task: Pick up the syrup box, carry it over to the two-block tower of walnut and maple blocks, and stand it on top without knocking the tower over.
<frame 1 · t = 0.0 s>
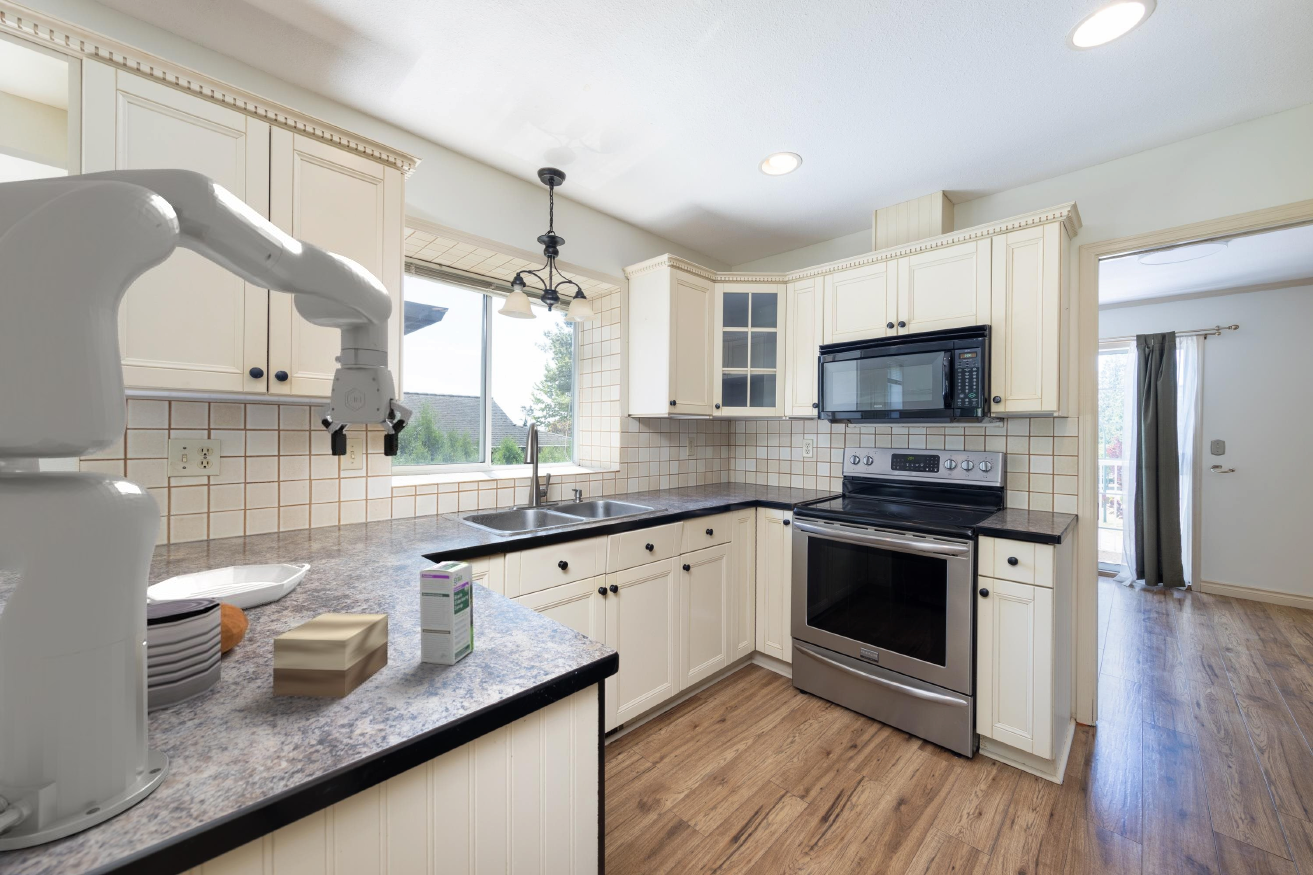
hand: (364, 455, 94), 31 cm above the counter, tool pointing down, fingers open, 9 cm apart
potato: (212, 654, 82), on the counter
tower top block: (334, 653, 74), point 4 cm above the counter, touching tower base block
syrup box: (447, 657, 81), on the counter
can: (167, 693, 70), on the counter
tower base block: (334, 680, 74), on the counter, touching tower top block
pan: (228, 600, 109), on the counter
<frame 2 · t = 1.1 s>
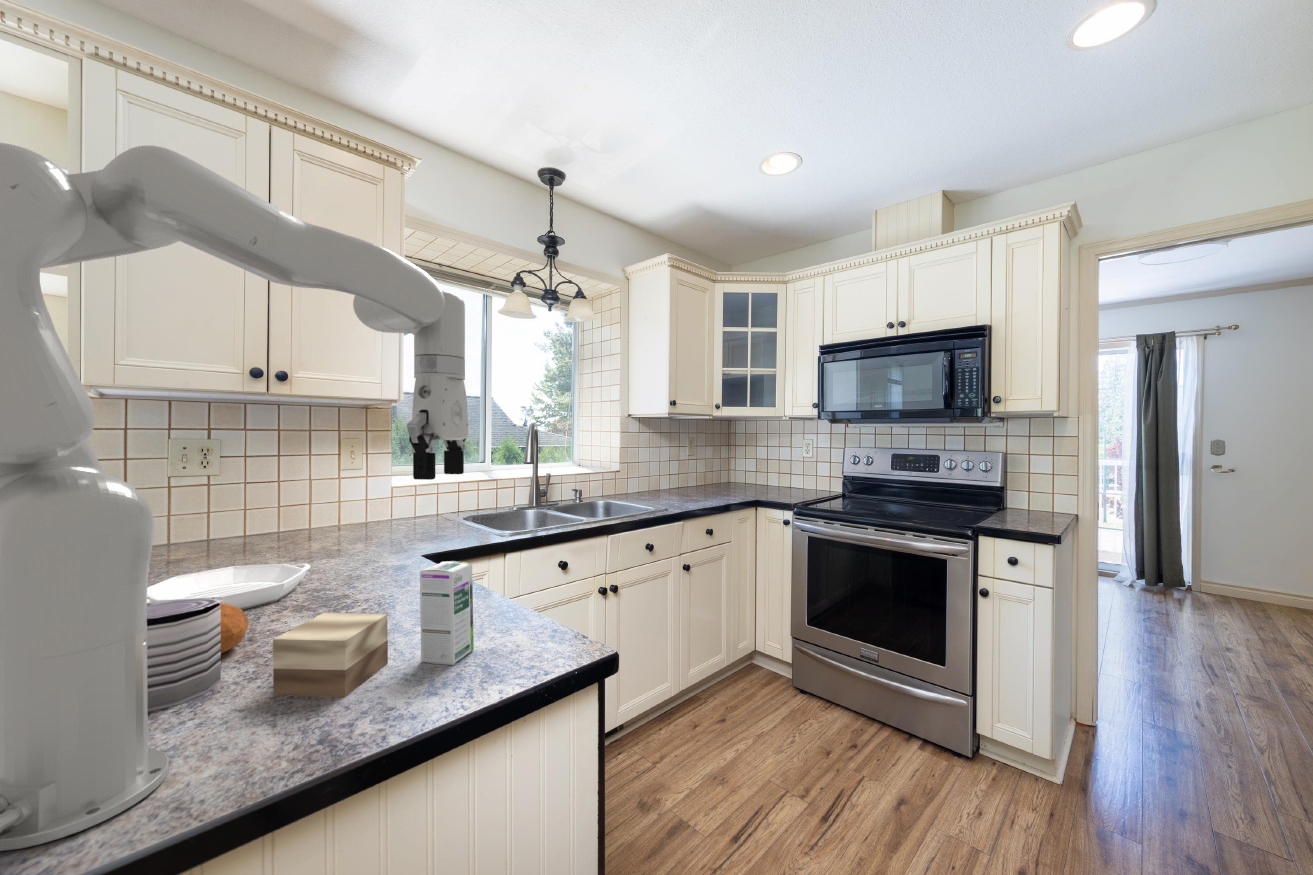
hand: (440, 476, 82), 28 cm above the counter, tool pointing down, fingers open, 9 cm apart
nothing on the counter moved.
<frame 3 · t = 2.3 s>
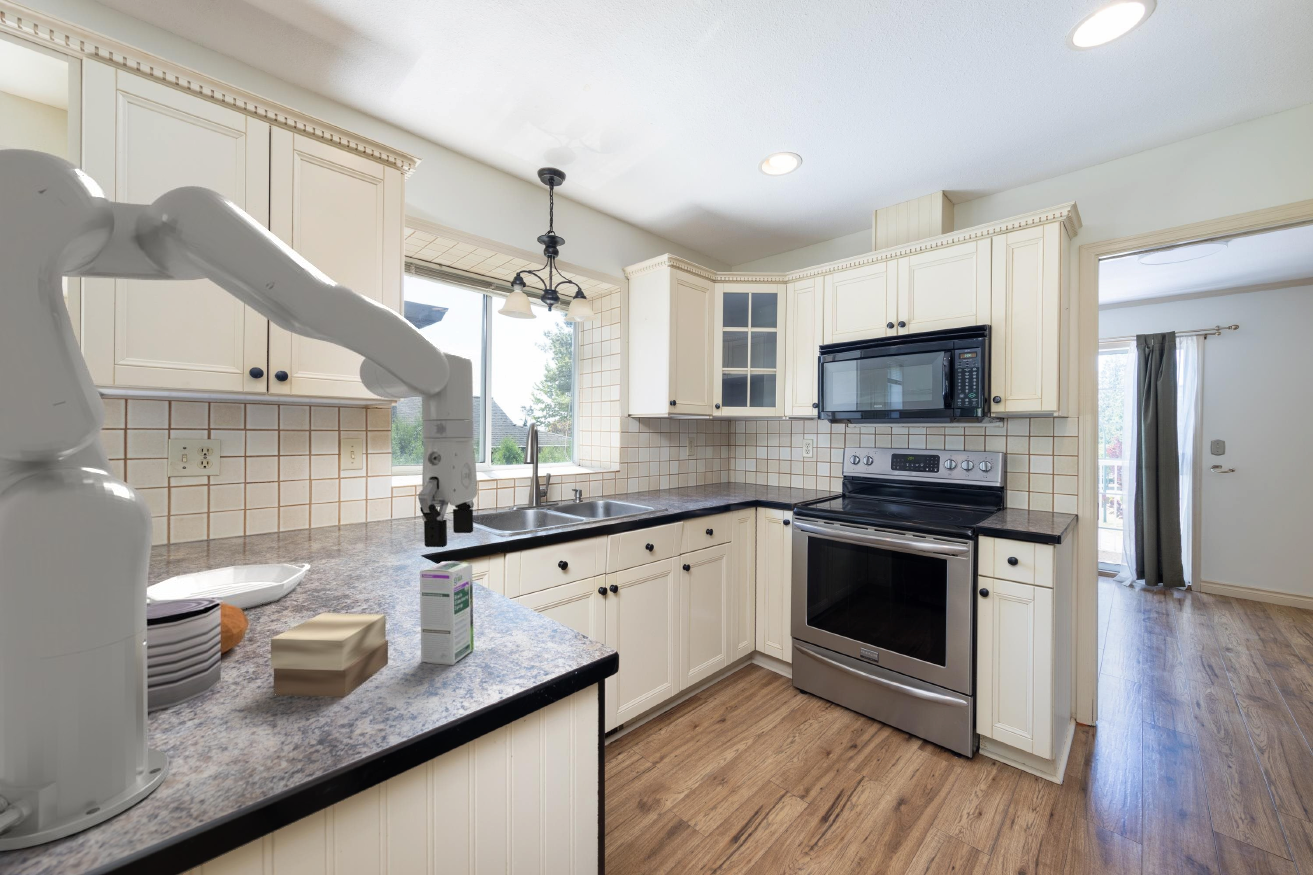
hand: (450, 539, 82), 19 cm above the counter, tool pointing down, fingers open, 9 cm apart
nothing on the counter moved.
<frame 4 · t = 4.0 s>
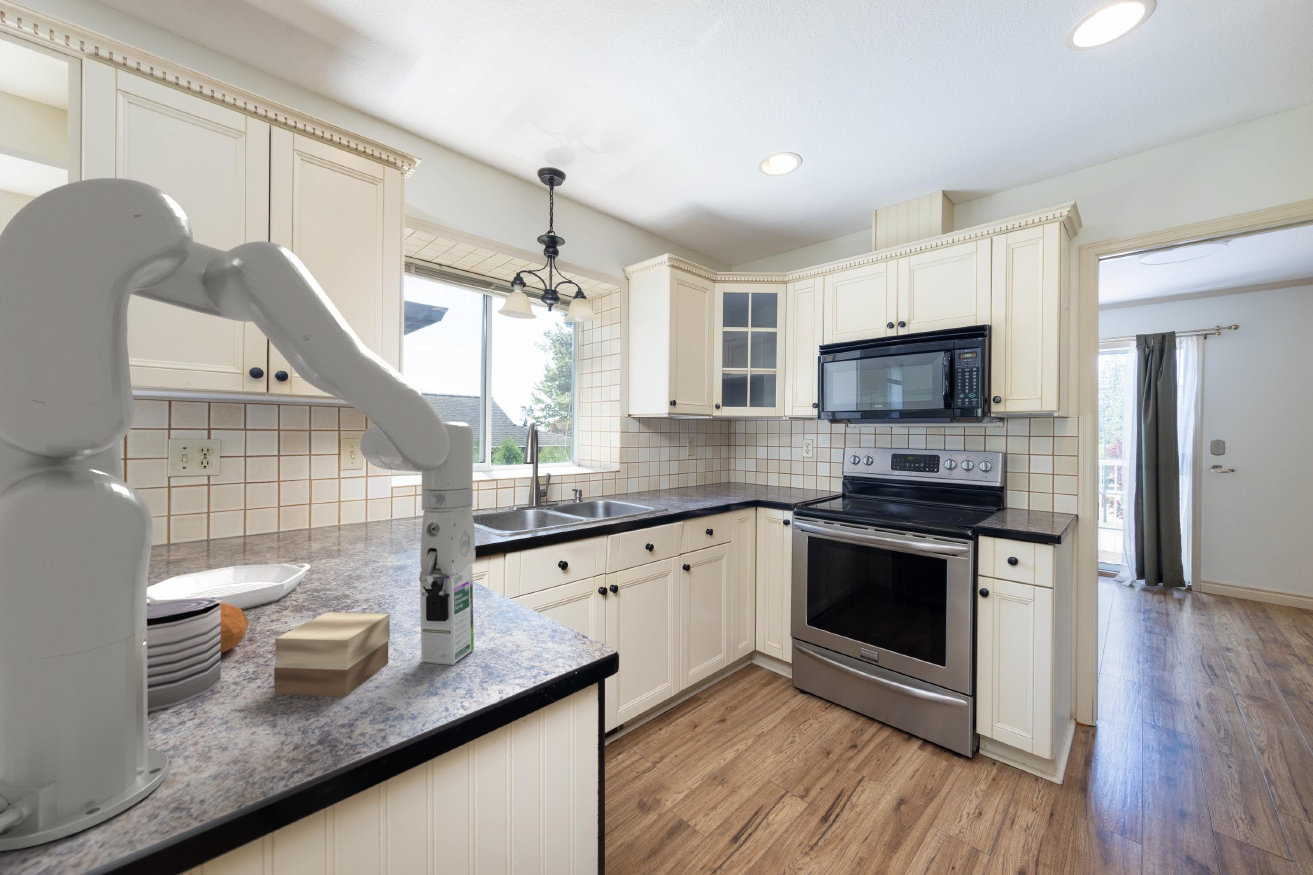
hand: (447, 611, 81), 7 cm above the counter, tool pointing down, fingers closed on syrup box, 6 cm apart
syrup box: (447, 657, 81), on the counter, touching gripper
everything else where it was.
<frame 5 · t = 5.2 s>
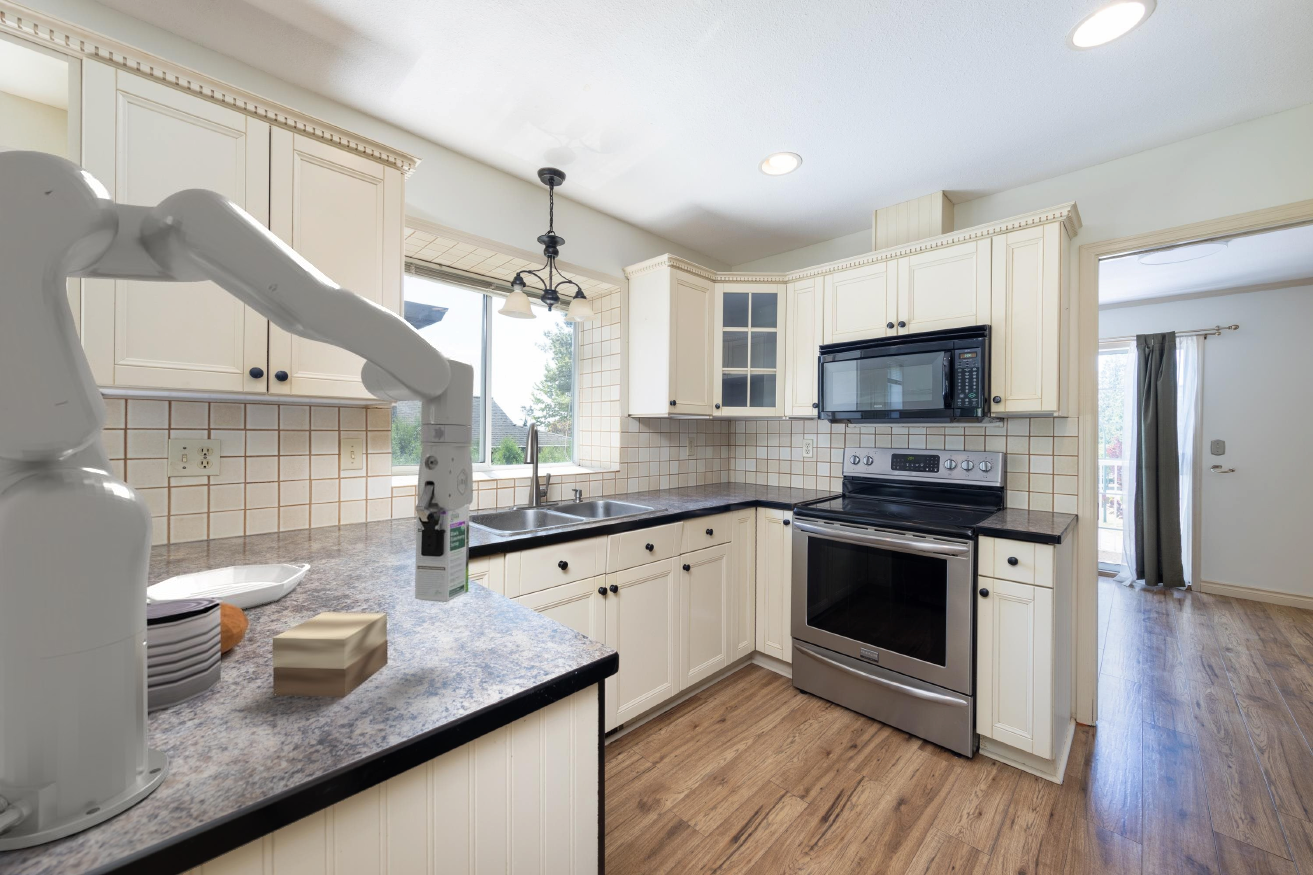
hand: (443, 550, 81), 17 cm above the counter, tool pointing down, fingers closed on syrup box, 6 cm apart
syrup box: (441, 597, 80), point 10 cm above the counter, touching gripper
everything else where it was.
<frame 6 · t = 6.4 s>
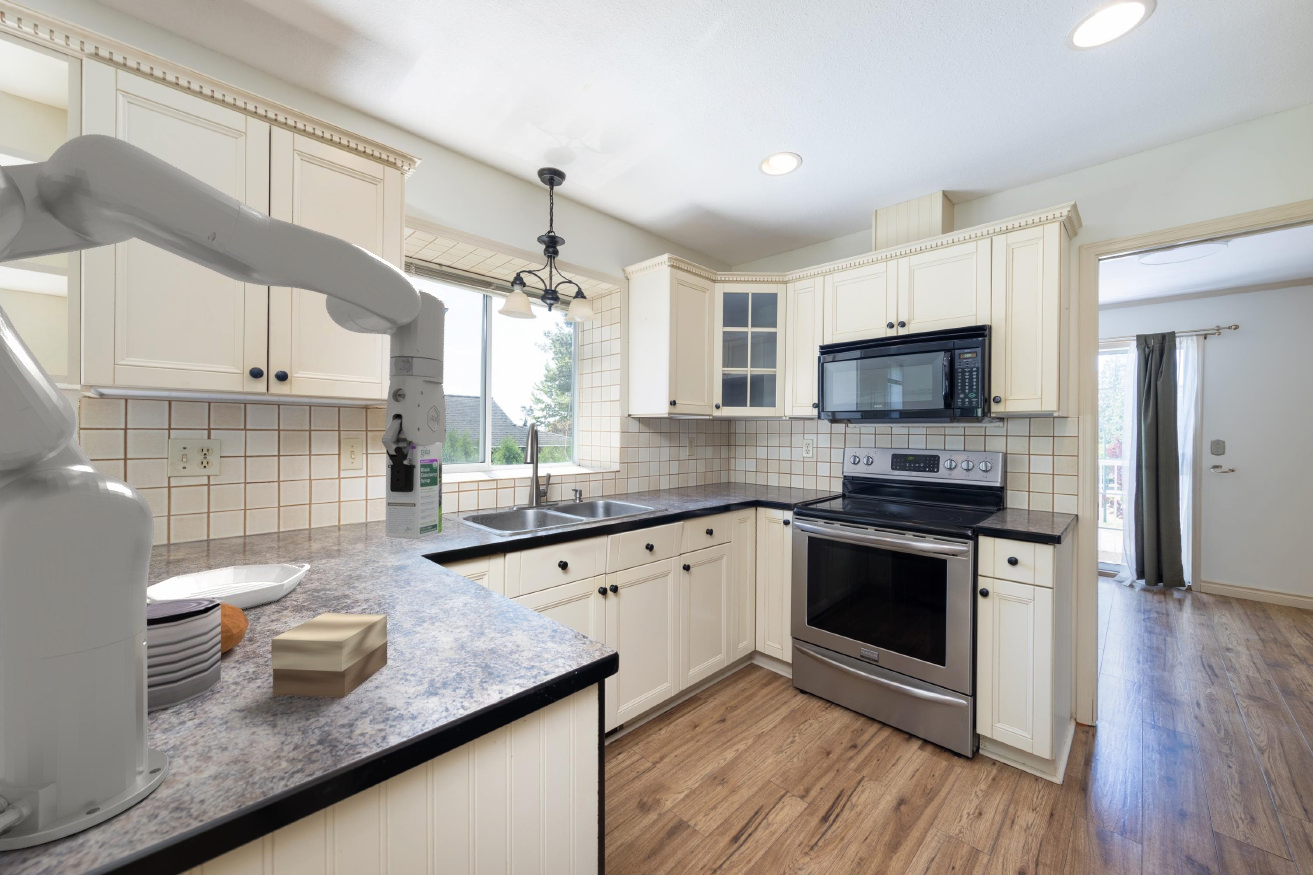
hand: (414, 488, 79), 27 cm above the counter, tool pointing down, fingers closed on syrup box, 6 cm apart
syrup box: (413, 536, 79), point 20 cm above the counter, touching gripper
everything else where it was.
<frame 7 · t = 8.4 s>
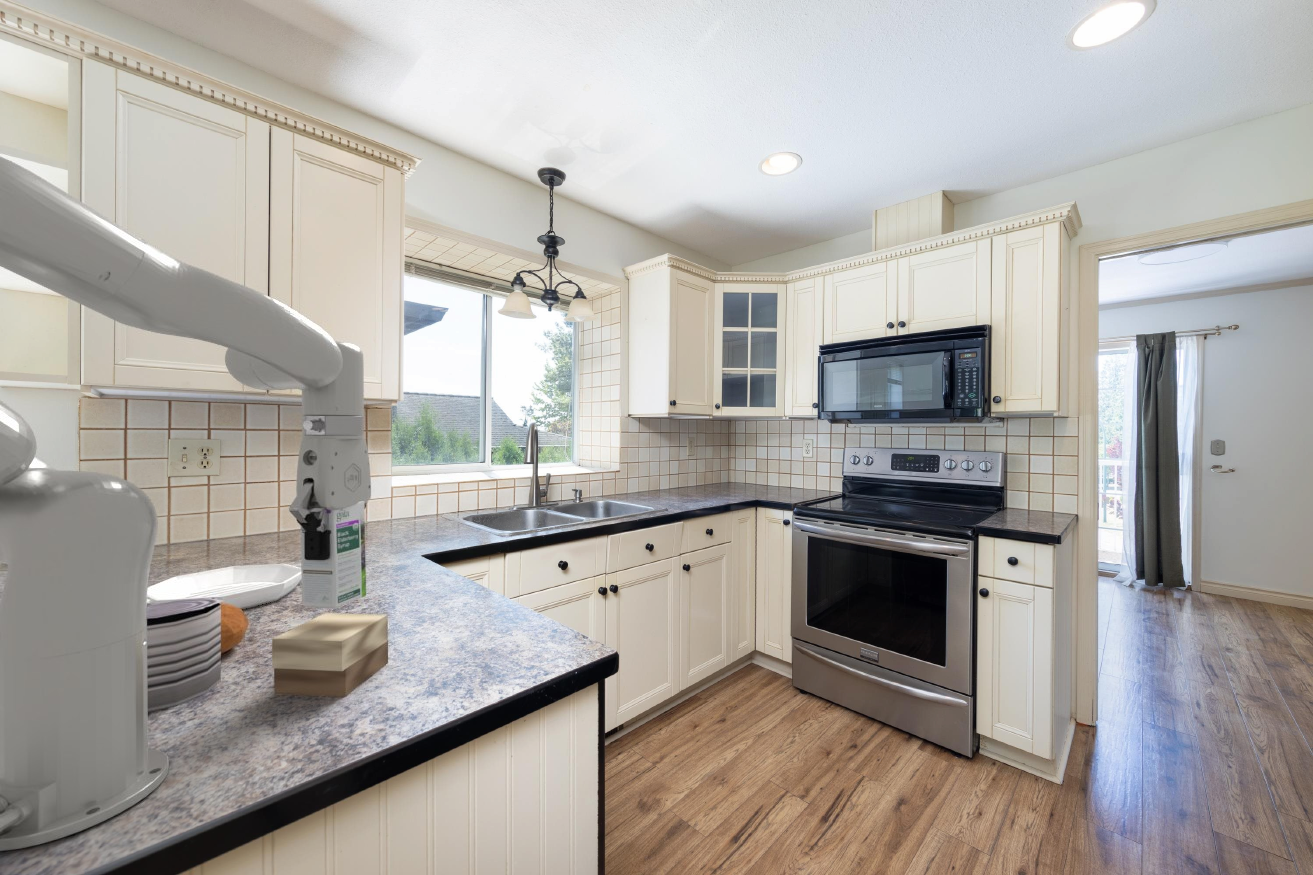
hand: (334, 552, 74), 18 cm above the counter, tool pointing down, fingers closed on syrup box, 6 cm apart
syrup box: (334, 602, 74), point 11 cm above the counter, touching gripper
everything else where it was.
when the fingers open (16 cm above the counter, at t = 9.2 s): syrup box drops 1 cm, resting on tower top block.
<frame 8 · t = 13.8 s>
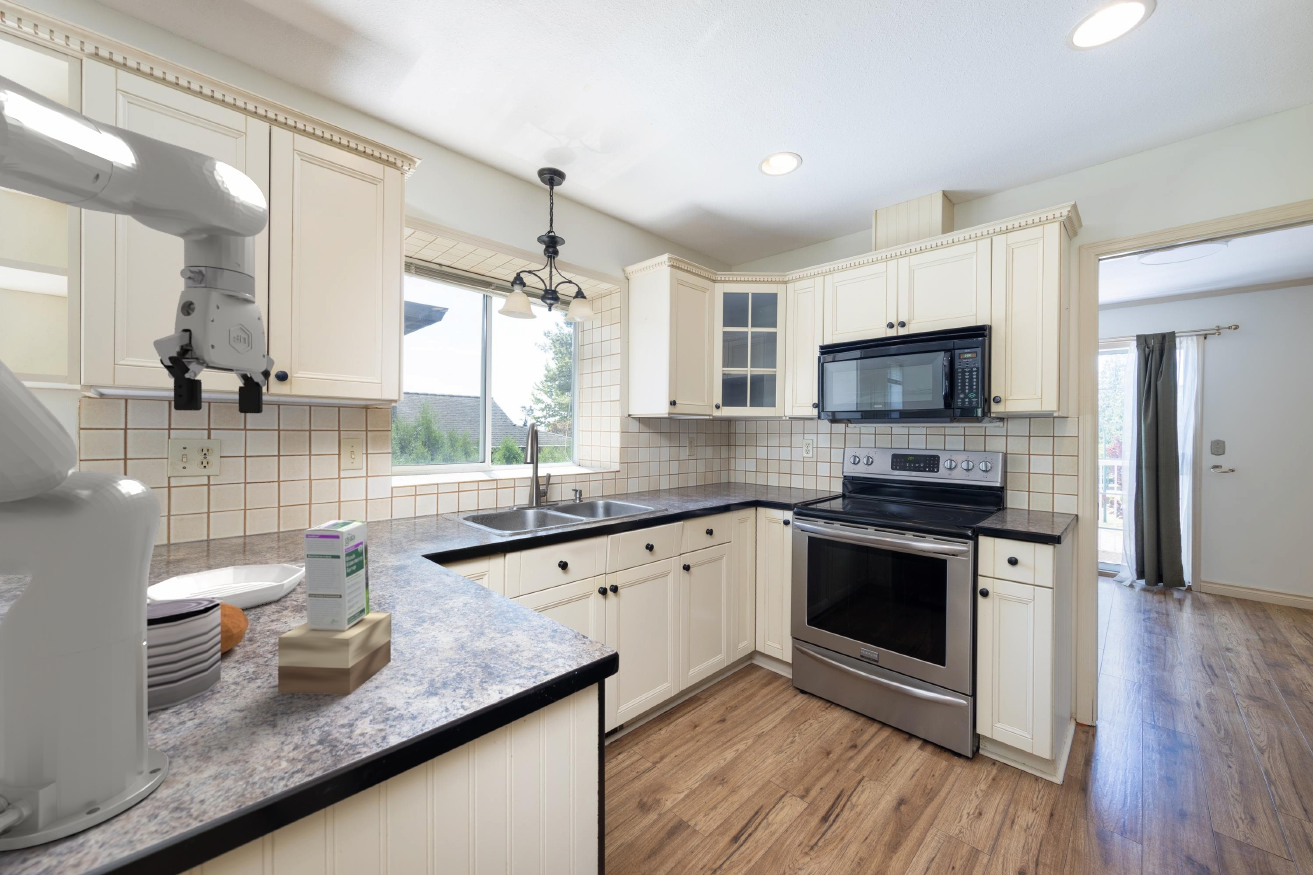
hand: (221, 411, 71), 38 cm above the counter, tool pointing down, fingers open, 9 cm apart
tower top block: (338, 651, 75), point 4 cm above the counter, touching syrup box
syrup box: (338, 623, 75), point 8 cm above the counter, touching tower top block
tower base block: (338, 678, 75), on the counter
everything else where it was.
at the end: syrup box 0.3 cm off-centre on the tower base block, point 8.0 cm above the tower base block's base; syrup box tilted 3°; tower top block 0.1 cm off-centre on the tower base block, point 4.0 cm above the tower base block's base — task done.
